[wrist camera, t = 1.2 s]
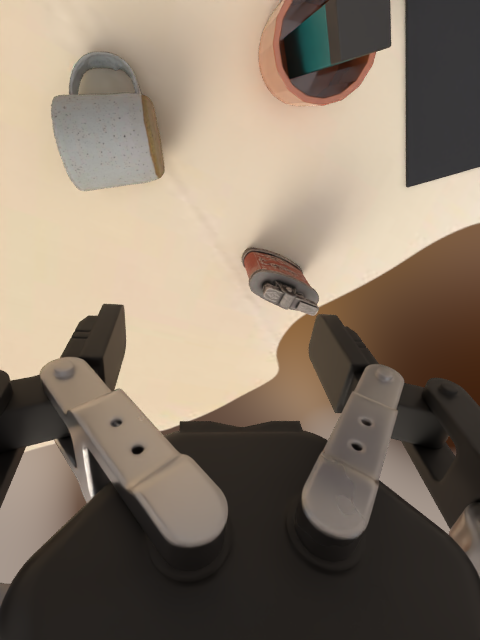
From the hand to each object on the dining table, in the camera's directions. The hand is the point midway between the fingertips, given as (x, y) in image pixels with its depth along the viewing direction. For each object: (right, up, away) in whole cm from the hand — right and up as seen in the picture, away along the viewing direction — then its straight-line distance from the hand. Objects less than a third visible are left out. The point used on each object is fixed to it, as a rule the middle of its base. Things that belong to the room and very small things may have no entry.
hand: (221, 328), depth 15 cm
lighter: (+5, +7, +29) cm, 30 cm away
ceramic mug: (-11, +20, +20) cm, 30 cm away
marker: (+7, +25, +18) cm, 32 cm away
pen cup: (+7, +25, +19) cm, 32 cm away
